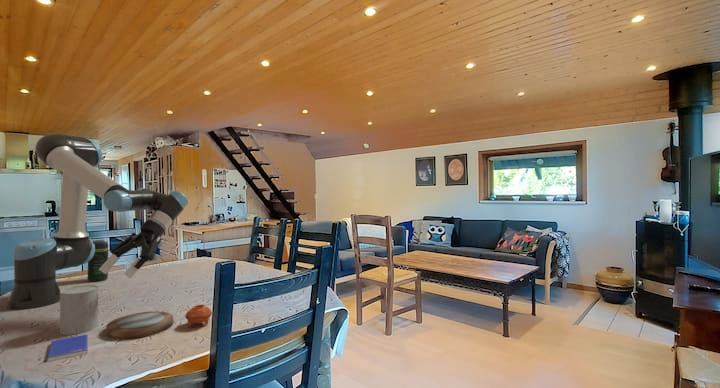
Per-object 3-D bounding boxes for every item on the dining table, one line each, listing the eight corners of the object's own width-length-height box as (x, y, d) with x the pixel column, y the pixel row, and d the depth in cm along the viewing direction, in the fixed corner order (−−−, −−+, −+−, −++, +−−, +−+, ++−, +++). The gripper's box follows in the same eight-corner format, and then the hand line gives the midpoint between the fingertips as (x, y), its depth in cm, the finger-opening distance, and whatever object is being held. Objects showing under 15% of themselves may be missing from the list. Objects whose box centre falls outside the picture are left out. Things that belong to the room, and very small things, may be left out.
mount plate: (92, 332, 110) (93, 324, 110) (149, 314, 126) (149, 307, 126) (131, 343, 102) (131, 335, 102) (185, 322, 119) (185, 315, 119)
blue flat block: (87, 349, 96) (87, 334, 106) (47, 357, 91) (51, 340, 101) (87, 355, 96) (87, 339, 106) (47, 363, 92) (51, 346, 101)
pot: (193, 330, 112) (190, 308, 112) (182, 330, 117) (180, 309, 117) (218, 322, 118) (215, 301, 119) (206, 322, 123) (204, 302, 124)
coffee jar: (108, 280, 170) (108, 241, 170) (87, 283, 165) (87, 242, 165) (108, 276, 178) (108, 238, 178) (87, 278, 173) (88, 239, 173)
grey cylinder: (93, 320, 120) (93, 283, 119) (102, 328, 114) (102, 289, 113) (56, 329, 112) (56, 289, 112) (64, 337, 106) (64, 295, 106)
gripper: (185, 234, 133) (146, 284, 119) (141, 230, 143) (100, 275, 130) (172, 220, 128) (130, 271, 114) (127, 217, 138) (84, 263, 125)
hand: (114, 274), depth 122 cm, fingers open, 13 cm apart
